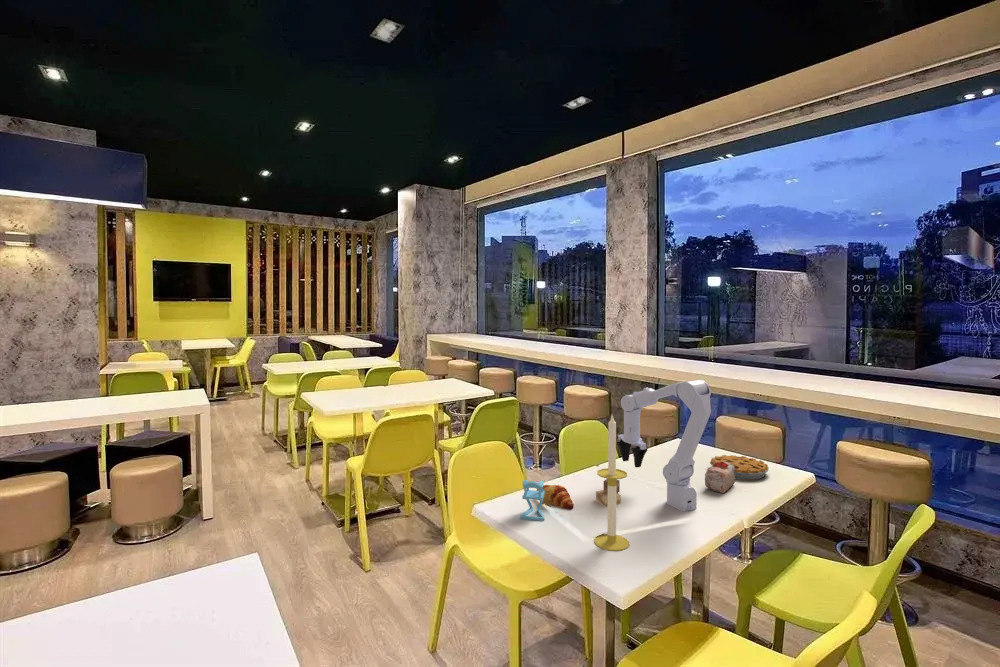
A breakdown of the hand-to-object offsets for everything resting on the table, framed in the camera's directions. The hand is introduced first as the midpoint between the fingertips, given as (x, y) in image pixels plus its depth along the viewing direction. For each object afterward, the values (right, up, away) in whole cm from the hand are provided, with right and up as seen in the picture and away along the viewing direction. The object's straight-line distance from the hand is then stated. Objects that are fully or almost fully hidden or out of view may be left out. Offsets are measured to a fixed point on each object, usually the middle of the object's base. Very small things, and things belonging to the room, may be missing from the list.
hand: (631, 463), depth 184 cm
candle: (-16, -13, -39) cm, 44 cm away
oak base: (-11, -10, -12) cm, 19 cm away
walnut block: (-10, -7, -11) cm, 17 cm away
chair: (-37, -12, -20) cm, 44 cm away
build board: (-8, -11, -11) cm, 18 cm away
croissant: (-29, -12, -9) cm, 33 cm away
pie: (+50, -10, +22) cm, 55 cm away
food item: (+34, -10, +4) cm, 36 cm away
